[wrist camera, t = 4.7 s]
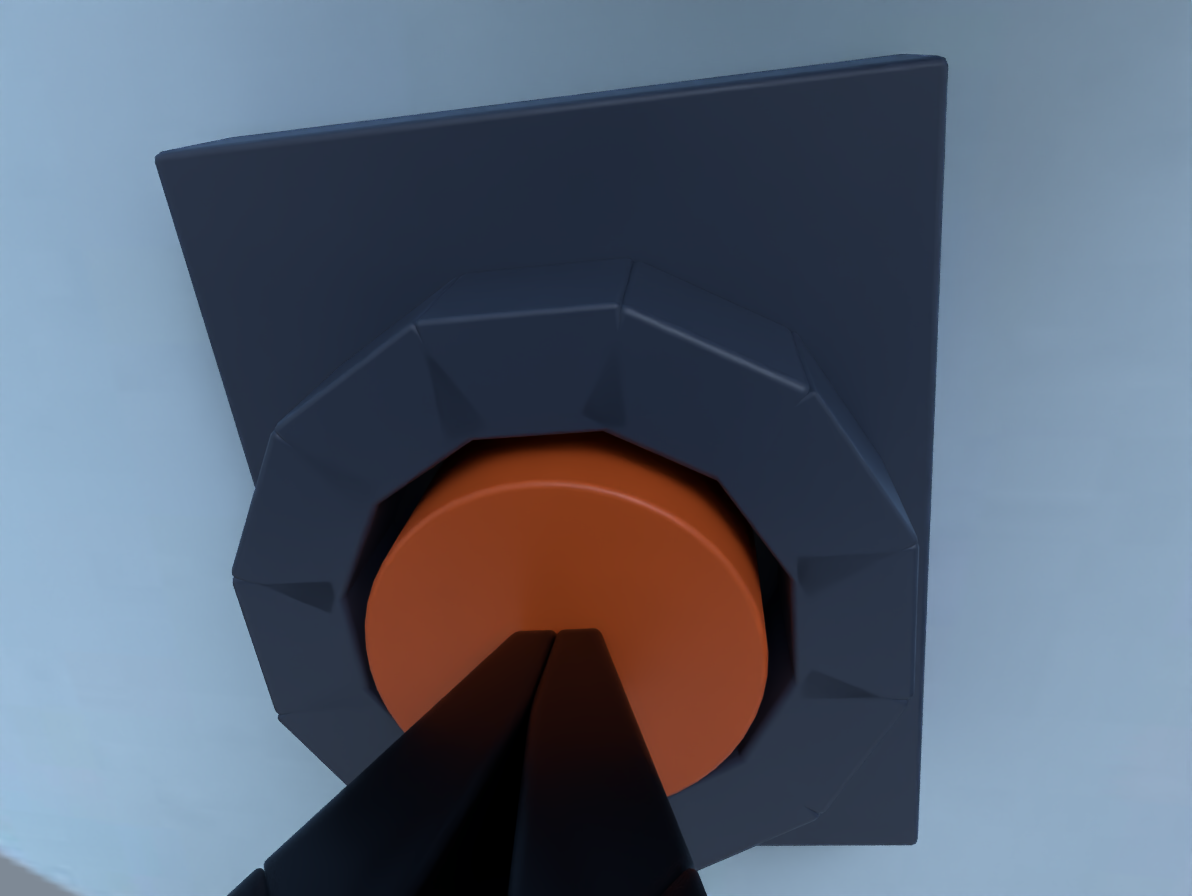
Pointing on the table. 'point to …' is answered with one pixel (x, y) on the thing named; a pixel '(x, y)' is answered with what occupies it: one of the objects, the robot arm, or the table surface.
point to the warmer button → (580, 586)
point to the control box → (604, 380)
